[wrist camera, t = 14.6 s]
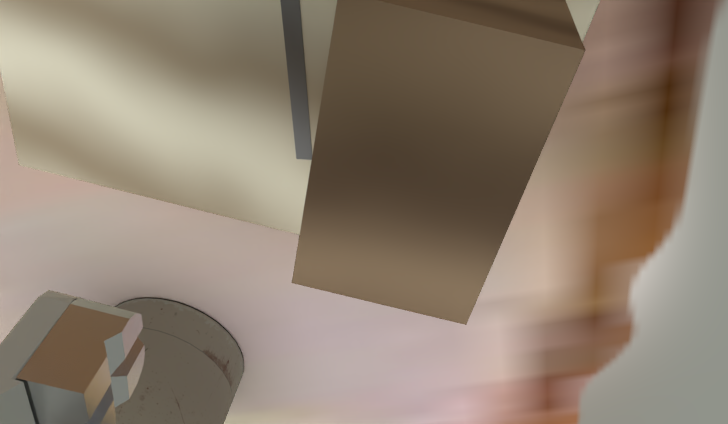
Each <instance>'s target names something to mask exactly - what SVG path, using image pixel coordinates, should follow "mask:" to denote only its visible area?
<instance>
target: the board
mask: <svg viewBox="0 0 728 424" xmlns="http://www.w3.org/2000/svg"><path fill="white" fill-rule="evenodd" d="M599 2H600V0H566V3H567V5H568V8H569V10H570V13H571V15H572V18H573V20H574V23H575V25H576V28H577V31H578V33H579V36H580V38H581V41H582V42H583V40H584V37H585V35H586V33H587V30H588V28H589V26H590V23H591V21H592V19H593V16H594V14H595V12H596V9H597V7H598V5H599ZM336 5H337V0H0V71H1V76H2V82H3V87H4V92H5V97H6V102H7V107H8V112H9V117H10V122H11V128H12V133H13V138H14V143H15V148H16V153H17V158H18V163H19V165H20V166H24V167H28V168H32V169H36V170H40V171H44V172H48V173H52V174H56V175H60V176H64V177H68V178H73V179H77V180H81V181H85V182H89V183H93V184H97V185H101V186H105V187H109V188H113V189H117V190H121V191H125V192H129V193H133V194H137V195H141V196H145V197H149V198H153V199H157V200H161V201H165V202H169V203H173V204H177V205H181V206H185V207H189V208H193V209H197V210H201V211H205V212H209V213H213V214H217V215H221V216H225V217H229V218H234V219H238V220H242V221H246V222H250V223H254V224H258V225H262V226H266V227H270V228H274V229H278V230H282V231H286V232H290V233H294V234H298V235H300V229H301V223H302V217H303V210H304V204H305V198H306V192H307V185H308V179H309V173H310V167H311V161H312V154H313V148H314V142H315V136H316V130H317V123H318V117H319V111H320V105H321V98H322V92H323V86H324V80H325V74H326V67H327V61H328V55H329V49H330V42H331V36H332V30H333V24H334V18H335V11H336Z"/></svg>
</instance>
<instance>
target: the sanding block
mask: <svg viewBox="0 0 728 424" xmlns="http://www.w3.org/2000/svg"><path fill="white" fill-rule="evenodd" d="M584 52H585V48H584V46H583V43H582V41H581V38H580V36H579V33H578V31H577V28H576V25H575V23H574V20H573V18H572V15H571V13H570V10H569V8H568V5H567V3H566V0H337V5H336V11H335V18H334V24H333V30H332V36H331V42H330V49H329V55H328V61H327V67H326V74H325V80H324V86H323V92H322V98H321V105H320V111H319V117H318V123H317V130H316V136H315V142H314V148H313V154H312V161H311V167H310V173H309V179H308V185H307V192H306V198H305V204H304V210H303V217H302V223H301V229H300V235H299V241H298V248H297V254H296V260H295V266H294V273H293V279H292V283H295V284H299V285H303V286H307V287H311V288H315V289H320V290H324V291H328V292H332V293H336V294H340V295H345V296H349V297H353V298H357V299H361V300H365V301H370V302H374V303H378V304H382V305H386V306H390V307H395V308H399V309H403V310H407V311H411V312H415V313H420V314H424V315H428V316H432V317H436V318H440V319H445V320H449V321H453V322H457V323H461V324H465V325H466V324H467V321H468V319H469V317H470V314H471V312H472V310H473V308H474V305H475V303H476V301H477V298H478V296H479V294H480V291H481V289H482V287H483V285H484V282H485V280H486V278H487V275H488V273H489V271H490V268H491V266H492V264H493V262H494V259H495V257H496V255H497V252H498V250H499V248H500V245H501V243H502V241H503V239H504V236H505V234H506V232H507V229H508V227H509V225H510V222H511V220H512V218H513V216H514V213H515V211H516V209H517V206H518V204H519V202H520V199H521V197H522V195H523V193H524V190H525V188H526V186H527V183H528V181H529V179H530V176H531V174H532V172H533V170H534V167H535V165H536V163H537V160H538V158H539V156H540V153H541V151H542V149H543V147H544V144H545V142H546V140H547V137H548V135H549V133H550V130H551V128H552V126H553V124H554V121H555V119H556V117H557V114H558V112H559V110H560V107H561V105H562V103H563V101H564V98H565V96H566V94H567V91H568V89H569V87H570V84H571V82H572V80H573V77H574V75H575V73H576V71H577V68H578V66H579V64H580V61H581V59H582V57H583V54H584Z"/></svg>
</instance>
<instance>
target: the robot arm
mask: <svg viewBox="0 0 728 424" xmlns="http://www.w3.org/2000/svg"><path fill="white" fill-rule="evenodd" d="M142 328H143V323H142V316H141V314H139V313H135V312H131V311H128V310H124V309H120V308H116V307H112V306H109V305H105V304H101V303H97V302H93V301H89V300H86V299H82V298H79V297H75V296H71V295H67V294H62V293H58V292H54V291H50V290H48V291H47V292H45V293H44V294H42V295H41V296H39V297H38V298H37V299H36V300H35V302H34V303H33V304H32V305H31V307H30V308H29V309H28V310H27V312H26V313H25V314H24V315H23V317H22V318H21V319H20V320H19V321H18V323H17V324H16V325H15V326H14V328H13V329H12V330H11V331H10V333H9V334H8V335H7V336H6V338H5V339H4V340H3V341H2V343H1V344H0V424H116V415H115V407H117V406H119V405H120V404H122V403H124V402H125V401H127V400H128V399H130V397H131V395H132V393H133V391H134V389H135V387H136V385H137V383H138V380H139V377H140V374H141V371H142V368H143V364H144V357H145V347H144V344H143V342H142V341H141V340H140V339H139V338H138V335H139V333H140V332H141V330H142Z"/></svg>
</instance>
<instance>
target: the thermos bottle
mask: <svg viewBox="0 0 728 424" xmlns="http://www.w3.org/2000/svg"><path fill="white" fill-rule="evenodd" d="M116 308H120V309H124V310H128V311H131V312H135V313H139V314H141V316H142V323H143V328H142V330H141V332H140V333H139V335H138V338H139V339H140V340H141V341H142V342H143V344H144V347H145V357H144V364H143V368H142V371H141V374H140V377H139V380H138V383H137V385H136V387H135V389H134V391H133V393H132V395H131V397H130V399H128V400H127V401H125V402H124V403H122V404H120V405H119V406H117V407H115V415H116V424H224V421H225V419H226V416H227V414H228V411H229V408H230V406H231V403H232V401H233V398H234V396H235V393H236V391H237V388H238V385H239V383H240V380H241V377H242V374H243V363H244V362H243V358H242V354H241V351H240V349H239V347H238V345H237V344H236V342H235V340H234V339H233V338H232V337H231V336H230V334H229V333H228V332H227V331H226V330H225V329H224V328H223V327H222V326H220V325H219V324H218V323H217V322H216V321H214V320H213V319H211V318H210V317H208V316H207V315H205V314H203V313H201V312H199V311H197V310H195V309H193V308H191V307H189V306H186V305H183V304H180V303H177V302H173V301H168V300H163V299H152V298H143V299H134V300H130V301H127V302H124V303H122V304H120V305H118V306H116Z"/></svg>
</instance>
